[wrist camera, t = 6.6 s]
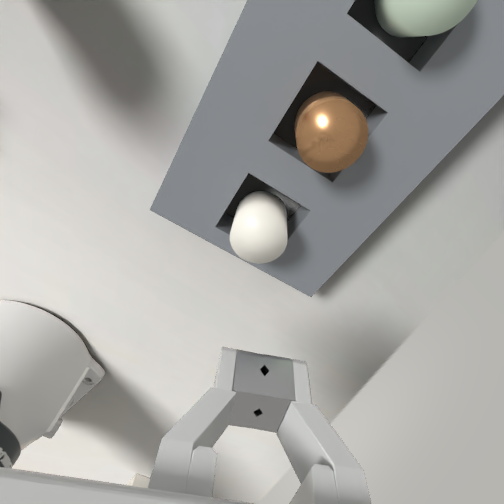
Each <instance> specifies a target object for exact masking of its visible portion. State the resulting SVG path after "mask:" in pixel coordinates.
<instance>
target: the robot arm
mask: <svg viewBox="0 0 504 504" xmlns="http://www.w3.org/2000/svg"><path fill="white" fill-rule="evenodd" d="M104 375H105V371H104V369H103V368H102V367H101V366H100V365H99V364H98V363H97V362H96V361H95V360H94V359H93V358H92V357H91V356H90V354H89V352H88V350H87V348H86V346H85V344H84V342H83V341H82V339H81V338H80V337H79V336H78V335H77V333H76V332H75V331H74V330H73V329H71V328H70V327H69V326H68V325H67V324H65V323H64V322H63V321H61V320H60V319H58V318H57V317H55V316H53V315H52V314H50V313H48V312H46V311H44V310H42V309H39V308H37V307H34V306H31V305H28V304H25V303H21V302H16V301H8V300H0V504H254V503H247V502H240V501H233V500H227V499H220V498H213V497H212V493H213V485H214V477H215V468H216V460H217V452H216V451H215V450H214V449H213V448H212V447H213V445H214V444H215V443H216V441H217V440H218V439H219V437H220V436H221V435H222V433H223V432H224V430H225V429H226V428H227V426H228V425H232V426H240V427H247V428H254V429H259V430H265V431H270V432H275V433H277V436H278V438H279V440H280V442H281V444H282V446H283V448H284V450H285V452H286V454H287V456H288V458H289V460H290V462H291V464H292V466H293V468H294V470H295V473H296V474H297V476H298V479H299V481H300V483H301V486H300V487H299V489H298V491H297V492H296V494H295V496H294V497H293V499H292V501H291V502H290V503H289V504H371V500H370V495H369V491H368V487H367V482H366V478H365V473H364V470H363V469H362V467H361V466H360V464H359V463H358V462H357V460H356V459H355V458H354V456H353V455H352V453H351V452H350V451H349V449H348V448H347V447H346V445H345V444H344V442H343V441H342V440H341V438H340V437H339V436H338V434H337V433H336V431H335V430H334V429H333V427H332V426H331V425H330V423H329V422H328V420H327V419H326V418H325V416H324V415H323V414H322V412H321V411H320V409H319V408H318V407H317V405H313V404H312V399H311V391H310V384H309V376H308V368H307V363H306V362H305V361H300V360H294V359H289V358H283V357H277V356H271V355H265V354H264V355H262V354H257V353H253V352H248V351H243V350H238V349H237V350H236V349H232V348H227V347H222V349H221V353H220V358H219V362H218V367H217V371H216V376H215V381H214V387H213V388H210V389H209V390H208V391H207V392H206V393H205V394H204V395H203V396H202V397H201V398H200V400H199V401H198V402H197V403H196V404H195V405H194V406H193V407H192V408H191V409H190V410H189V411H188V412H187V413H186V414H185V415H184V416H183V417H182V418H181V419H180V420H179V421H178V422H177V423H176V424H175V425H174V426H173V427H172V428H171V429H170V431H169V432H168V433H167V434H166V435H165V436H164V437H163V438H162V439H161V443H160V446H159V450H158V454H157V457H156V461H155V464H154V468H153V471H152V475H151V478H150V482H149V485H148V488H143V487H136V486H129V485H122V484H115V483H108V482H101V481H95V480H88V479H81V478H74V477H67V476H60V475H53V474H46V473H39V472H32V471H25V470H18V469H12V466H13V465H14V463H15V462H16V460H17V459H18V457H19V455H20V453H21V450H23V449H24V448H25V447H27V446H28V445H29V444H31V443H32V442H34V441H35V440H37V439H39V438H40V437H42V435H43V436H44V437H47V438H52V437H53V436H54V434H55V433H56V431H57V430H58V428H59V427H60V425H61V423H62V421H63V420H62V419H61V418H60V417H61V416H62V415H63V414H65V413H66V412H67V411H68V410H69V409H70V408H71V407H72V406H73V405H74V404H76V403H77V402H78V401H79V400H80V399H81V398H82V397H83V396H84V395H85V394H87V393H88V392H89V391H90V390H91V389H92V388H93V387H94V386H95V385H96V384H98V383H99V382H100V381H101V379H102V378H103V376H104Z"/></svg>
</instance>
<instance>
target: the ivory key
mask: <svg viewBox="0 0 504 504" xmlns="http://www.w3.org/2000/svg"><path fill="white" fill-rule="evenodd" d="M230 243H231V246H232V248H233V250H234V252H235V253H236V254H237V255H238V256H239V257H241V258H242V259H244V260H246V261H248V262H251V263H257V264H262V263H268V262H271V261H273V260H275V259H277V258H278V257H279V256H281V254H282V253H283V252H284V250H285V248H286V246H287V211H286V207H285V205H284V203H283V202H282V200H281V199H280V198H279V197H277V196H276V195H274V194H272V193H270V192H266V191H257V192H252V193H250V194H248V195H246V196H245V197H244V198H243V199H242V200H241V201H240V203H239V204H238V207H237V210H236V214H235V217H234V221H233V225H232V228H231V232H230Z"/></svg>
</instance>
